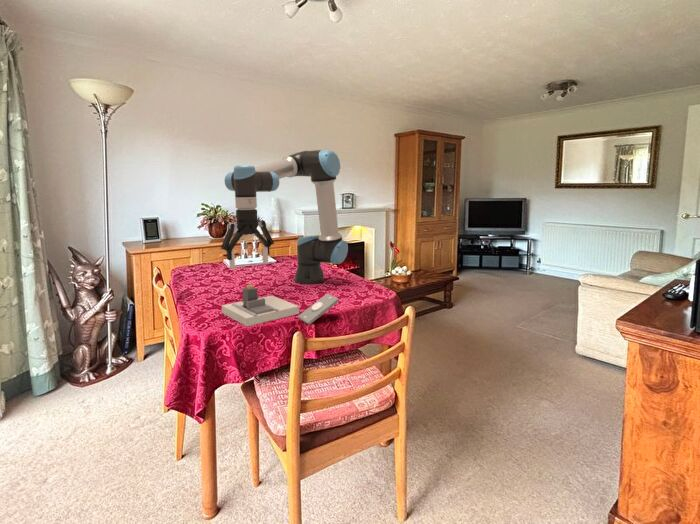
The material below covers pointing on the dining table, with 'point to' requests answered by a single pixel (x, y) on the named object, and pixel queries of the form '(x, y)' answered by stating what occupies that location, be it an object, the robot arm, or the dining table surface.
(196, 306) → the dining table surface
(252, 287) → the plug
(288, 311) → the socket board
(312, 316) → the light switch
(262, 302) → the shutter
